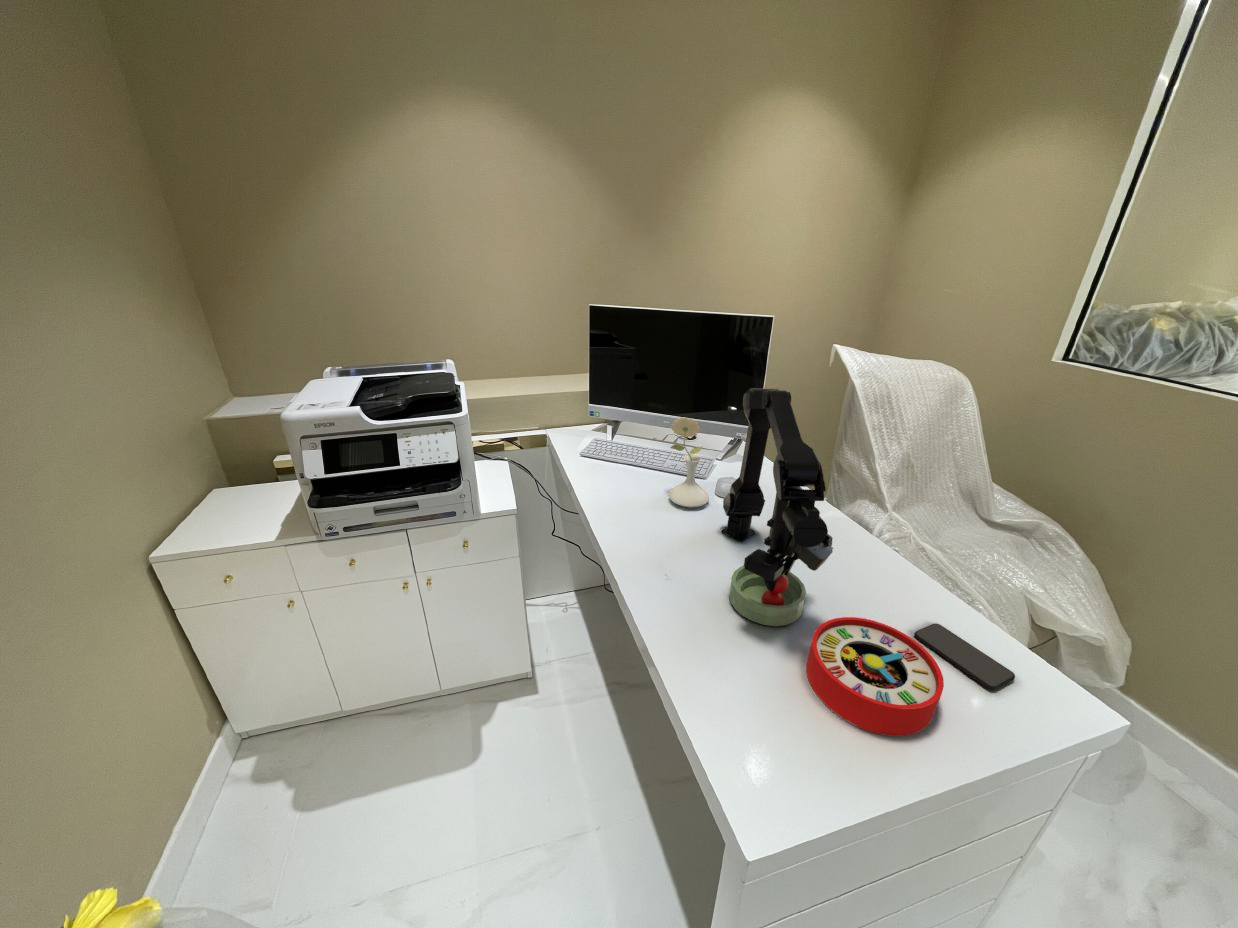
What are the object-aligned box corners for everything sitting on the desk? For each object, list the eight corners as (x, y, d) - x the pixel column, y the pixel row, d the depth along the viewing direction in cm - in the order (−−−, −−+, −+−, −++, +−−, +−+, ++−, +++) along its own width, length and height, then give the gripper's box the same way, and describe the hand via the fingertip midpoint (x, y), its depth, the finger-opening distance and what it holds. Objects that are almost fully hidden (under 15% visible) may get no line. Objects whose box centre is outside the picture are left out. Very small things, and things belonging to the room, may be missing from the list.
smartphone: (936, 621, 100) (1018, 674, 87) (935, 625, 100) (1016, 678, 88) (911, 632, 97) (993, 689, 84) (910, 636, 97) (991, 693, 85)
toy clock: (788, 627, 90) (879, 608, 95) (783, 652, 92) (872, 632, 98) (868, 722, 73) (974, 692, 78) (859, 749, 75) (963, 719, 80)
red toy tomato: (763, 582, 103) (767, 562, 102) (785, 587, 102) (790, 567, 101) (763, 595, 99) (768, 574, 98) (786, 599, 98) (791, 579, 97)
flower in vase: (714, 499, 146) (724, 418, 136) (698, 515, 138) (707, 429, 127) (674, 487, 153) (680, 409, 142) (656, 502, 144) (661, 419, 134)
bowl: (752, 573, 114) (755, 555, 112) (813, 604, 105) (818, 584, 103) (715, 602, 105) (718, 583, 103) (779, 639, 95) (783, 618, 93)
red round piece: (773, 581, 101) (783, 600, 98) (781, 591, 104) (792, 610, 100) (754, 592, 102) (764, 611, 99) (763, 602, 105) (772, 621, 101)
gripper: (806, 554, 83) (791, 628, 89) (851, 515, 95) (835, 583, 101) (747, 529, 90) (737, 599, 96) (796, 496, 102) (784, 560, 109)
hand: (775, 585), depth 100 cm, fingers closed on red toy tomato, 4 cm apart
